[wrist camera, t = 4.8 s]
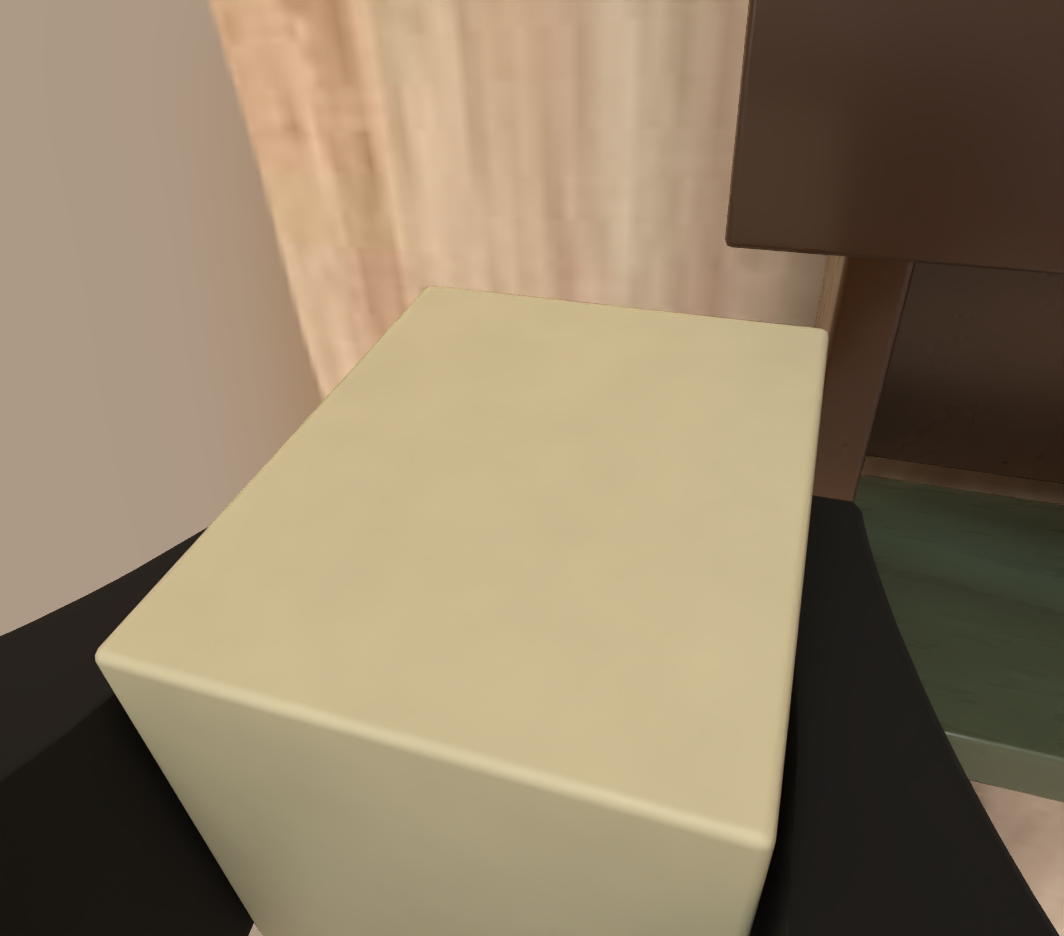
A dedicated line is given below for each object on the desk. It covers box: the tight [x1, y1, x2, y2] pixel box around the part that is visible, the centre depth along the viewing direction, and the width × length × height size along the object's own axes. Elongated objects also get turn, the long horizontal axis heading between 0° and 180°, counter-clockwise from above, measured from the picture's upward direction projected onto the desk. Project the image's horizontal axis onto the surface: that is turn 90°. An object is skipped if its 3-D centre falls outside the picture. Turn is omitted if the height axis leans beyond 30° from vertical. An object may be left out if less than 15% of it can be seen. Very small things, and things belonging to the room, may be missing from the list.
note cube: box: [95, 286, 829, 936], centre depth 8 cm, size 4×4×6 cm
